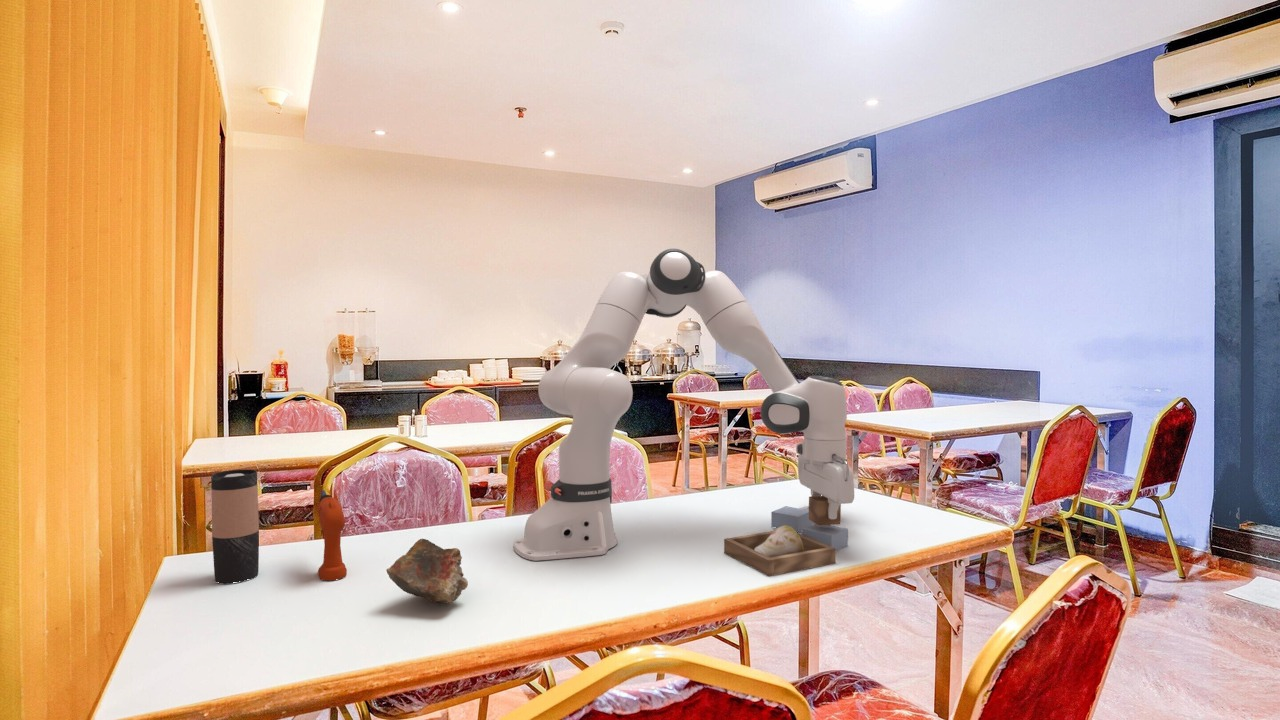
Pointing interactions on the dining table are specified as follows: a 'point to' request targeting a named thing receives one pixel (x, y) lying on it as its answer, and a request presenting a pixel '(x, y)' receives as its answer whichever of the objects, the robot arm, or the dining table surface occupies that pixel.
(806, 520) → the far block
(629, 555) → the dining table surface
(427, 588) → the rock
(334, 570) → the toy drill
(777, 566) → the wooden tray
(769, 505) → the dining table surface
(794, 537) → the beige rounded lump
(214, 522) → the travel mug
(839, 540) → the base block
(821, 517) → the walnut block
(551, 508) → the robot arm
